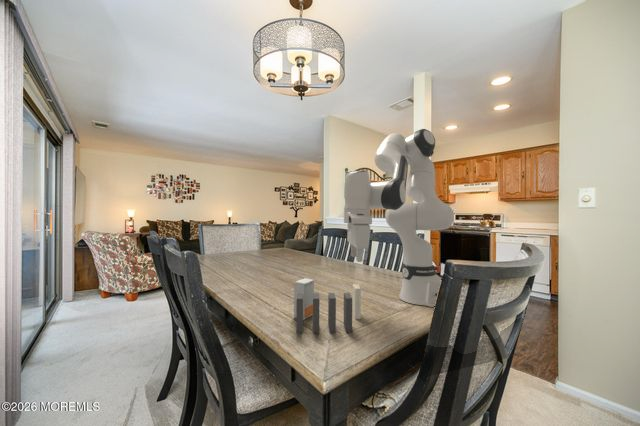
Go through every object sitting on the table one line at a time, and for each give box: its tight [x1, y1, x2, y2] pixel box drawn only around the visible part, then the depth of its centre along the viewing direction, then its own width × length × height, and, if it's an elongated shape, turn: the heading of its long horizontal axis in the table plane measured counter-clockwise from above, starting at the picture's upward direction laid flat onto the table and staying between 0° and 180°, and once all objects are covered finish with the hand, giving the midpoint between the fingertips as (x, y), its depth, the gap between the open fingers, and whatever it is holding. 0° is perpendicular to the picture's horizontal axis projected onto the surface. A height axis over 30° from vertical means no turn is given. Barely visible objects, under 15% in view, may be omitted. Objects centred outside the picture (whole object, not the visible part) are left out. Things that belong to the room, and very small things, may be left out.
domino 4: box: [343, 292, 353, 334], centre depth 77 cm, size 2×5×10 cm, turn 3°
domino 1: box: [295, 293, 304, 334], centre depth 76 cm, size 2×5×10 cm, turn 3°
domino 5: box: [352, 283, 362, 320], centre depth 86 cm, size 2×5×10 cm, turn 3°
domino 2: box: [312, 292, 320, 334], centre depth 76 cm, size 2×5×10 cm, turn 3°
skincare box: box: [293, 277, 315, 321], centre depth 86 cm, size 6×4×12 cm
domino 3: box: [327, 292, 337, 334], centre depth 76 cm, size 2×5×10 cm, turn 3°
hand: (356, 258), depth 86 cm, fingers open, 8 cm apart
